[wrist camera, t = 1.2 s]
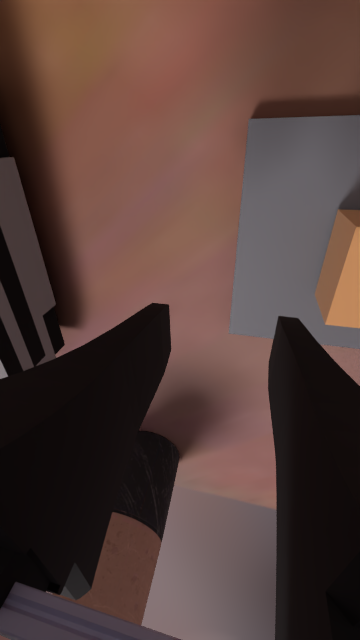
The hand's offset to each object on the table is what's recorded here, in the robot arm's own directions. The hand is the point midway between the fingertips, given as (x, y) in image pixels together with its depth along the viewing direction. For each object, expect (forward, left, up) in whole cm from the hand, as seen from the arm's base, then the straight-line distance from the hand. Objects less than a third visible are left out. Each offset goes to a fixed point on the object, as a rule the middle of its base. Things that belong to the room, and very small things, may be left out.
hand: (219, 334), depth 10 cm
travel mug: (+8, +26, -11) cm, 29 cm away
